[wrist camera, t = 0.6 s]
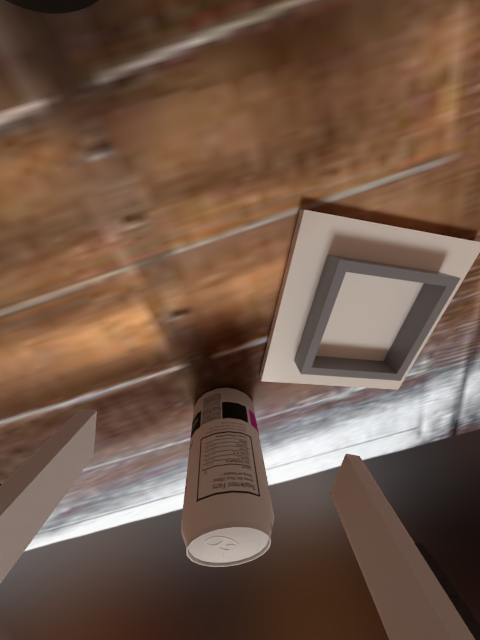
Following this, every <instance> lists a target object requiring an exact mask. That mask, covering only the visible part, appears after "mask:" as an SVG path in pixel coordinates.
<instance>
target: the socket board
mask: <svg viewBox="0 0 480 640" xmlns="http://www.w3.org/2000/svg"><path fill="white" fill-rule="evenodd" d="M479 252H480V242H476V241H471V240H466V239H460V238H455V237H449V236H444V235H439V234H433V233H428V232H422V231H417V230H412V229H406V228H401V227H395V226H390V225H385V224H379V223H374V222H368V221H363V220H358V219H352V218H347V217H341V216H336V215H331V214H325V213H320V212H314V211H309V210H300V212H299V216H298V220H297V224H296V228H295V232H294V236H293V240H292V244H291V248H290V252H289V257H288V261H287V265H286V269H285V273H284V277H283V281H282V285H281V289H280V293H279V297H278V301H277V306H276V310H275V314H274V318H273V322H272V326H271V330H270V334H269V338H268V342H267V346H266V350H265V355H264V359H263V363H262V367H261V371H260V379H261V381H267V382H284V383H300V384H317V385H333V386H349V387H366V388H382V389H399V387H400V385H401V384H402V382H403V380H404V379H405V377H406V375H407V374H408V372H409V370H410V369H411V367H412V365H413V364H414V362H415V360H416V359H417V357H418V355H419V353H420V352H421V350H422V348H423V347H424V345H425V343H426V342H427V340H428V338H429V337H430V335H431V333H432V332H433V330H434V328H435V327H436V325H437V323H438V321H439V320H440V318H441V316H442V315H443V313H444V311H445V310H446V308H447V306H448V305H449V303H450V301H451V300H452V298H453V296H454V295H455V293H456V291H457V289H458V288H459V286H460V284H461V283H462V281H463V279H464V278H465V276H466V274H467V273H468V271H469V269H470V268H471V266H472V264H473V263H474V261H475V259H476V257H477V256H478V254H479Z"/></svg>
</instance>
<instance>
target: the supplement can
mask: <svg viewBox="0 0 480 640" xmlns="http://www.w3.org/2000/svg"><path fill="white" fill-rule="evenodd" d="M273 522H274V514H273V509H272V504H271V498H270V493H269V487H268V482H267V477H266V471H265V466H264V460H263V455H262V450H261V444H260V439H259V434H258V428H257V423H256V418H255V412H254V407H253V404H252V401H251V399H250V398H249V397H248V396H247V395H246V394H245V393H243V392H241V391H239V390H237V389H232V388H218V389H215V390H212V391H210V392H207V393H205V394H204V395H203V396H202V397H200V398H199V399H198V401H197V403H196V405H195V406H194V414H193V423H192V432H191V441H190V450H189V459H188V468H187V477H186V487H185V496H184V505H183V514H182V523H181V532H182V536H183V539H184V542H185V545H186V548H187V556H188V557H189V558H190V560H191V561H193V562H195V563H198V564H200V565H205V566H211V567H226V566H232V565H239V564H242V563H246V562H249V561H252V560H254V559H255V558H257V557H259V556H261V555H263V554H264V553H265V552H266V551H267V550H268V549H269V547H270V543H271V538H270V536H271V531H272V527H273Z"/></svg>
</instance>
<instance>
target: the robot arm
mask: <svg viewBox="0 0 480 640" xmlns="http://www.w3.org/2000/svg"><path fill="white" fill-rule="evenodd" d="M7 1H9V2H11V3H13V4H15V5H18V6H20V7H24V8H27V9H30V10H34V11H38V12H45V13H67V12H72V11H77V10H80V9H83V8H85V7H87V6H89V5H92V4H93V3H95V2H96V1H98V0H7ZM96 414H97V411H93V410H88V409H82V408H81V409H80V410H79V411H78V412H77V413H76V414H74V415H73V416H72V417H71V418H70V419H69V420H68V421H67V422H66V423H65V424H64V425H63V426H62V427H61V428H60V429H59V430H58V431H57V432H56V433H55V434H54V435H53V436H52V437H50V438H49V439H48V440H47V441H46V442H45V443H44V444H43V445H42V446H41V447H40V448H39V449H38V450H37V451H36V452H35V453H34V454H33V455H32V456H31V457H30V458H29V459H28V460H26V461H25V462H24V463H23V464H22V465H21V466H20V467H19V468H18V469H17V470H16V471H15V472H14V473H13V474H12V475H11V476H10V477H9V478H8V479H7V480H6V481H5V482H4V483H2V484H0V583H1V582H2V581H3V579H4V578H5V577H6V575H7V574H8V572H9V571H10V570H11V568H12V567H13V566H14V564H15V563H16V561H17V560H18V559H19V557H20V556H21V555H22V553H23V552H24V550H25V549H26V548H27V546H28V545H29V544H30V542H31V541H32V539H33V538H34V537H35V535H36V534H37V532H38V531H39V530H40V528H41V527H42V526H43V524H44V523H45V521H46V520H47V519H48V517H49V516H50V515H51V513H52V512H53V510H54V509H55V508H56V506H57V505H58V504H59V502H60V501H61V499H62V498H63V497H64V495H65V494H66V493H67V491H68V490H69V488H70V487H71V486H72V484H73V483H74V482H75V480H76V479H77V477H78V476H79V475H80V473H81V472H82V471H83V469H84V468H85V466H86V465H87V464H88V462H89V461H90V460H91V458H92V457H93V455H94V442H95V428H96ZM330 494H331V496H332V499H333V502H334V504H335V506H336V509H337V511H338V514H339V516H340V519H341V521H342V524H343V526H344V529H345V531H346V534H347V536H348V538H349V541H350V543H351V546H352V548H353V551H354V553H355V556H356V558H357V561H358V563H359V565H360V568H361V570H362V573H363V575H364V578H365V580H366V583H367V585H368V588H369V590H370V592H371V595H372V598H373V600H374V602H375V605H376V607H377V610H378V612H379V615H380V617H381V620H382V622H383V625H384V627H385V630H386V632H387V634H388V637H389V639H390V640H480V624H479V623H478V621H477V620H476V618H475V617H474V616H473V614H472V612H471V611H470V609H469V608H468V606H467V605H466V604H465V602H464V601H463V600H462V599H461V596H460V594H459V593H458V592H457V590H456V588H455V587H454V585H453V584H451V583H450V580H449V578H448V577H447V575H446V574H445V572H444V571H443V569H442V568H441V566H440V565H439V563H438V562H437V560H436V559H435V558H434V557H433V556H432V555H431V554H430V553H429V552H428V550H427V549H426V548H425V547H424V546H423V545H422V544H420V543H414V542H413V540H412V539H411V537H410V536H409V534H408V533H407V531H406V529H405V528H404V526H403V524H402V523H401V521H400V520H399V518H398V517H397V515H396V513H395V512H394V510H393V509H392V507H391V505H390V504H389V502H388V501H387V499H386V498H385V496H384V495H383V493H382V491H381V490H380V488H379V486H378V485H377V483H376V482H375V480H374V479H373V477H372V475H371V474H370V472H369V471H368V469H367V468H366V466H365V464H364V463H363V461H362V460H361V458H360V456H356V455H350V454H346V455H345V457H344V460H343V462H342V465H341V467H340V470H339V472H338V474H337V477H336V479H335V482H334V484H333V486H332V489H331V492H330Z"/></svg>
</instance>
